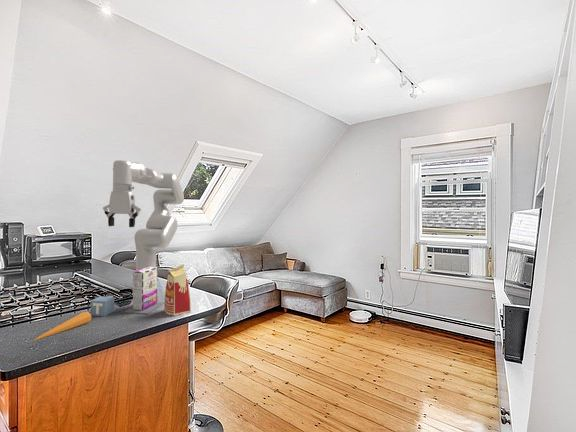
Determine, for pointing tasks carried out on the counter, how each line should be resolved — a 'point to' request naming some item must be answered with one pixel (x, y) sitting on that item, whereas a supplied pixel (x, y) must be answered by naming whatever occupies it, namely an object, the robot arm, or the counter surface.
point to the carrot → (69, 324)
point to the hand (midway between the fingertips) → (121, 226)
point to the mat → (145, 309)
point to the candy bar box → (144, 288)
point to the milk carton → (177, 292)
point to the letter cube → (102, 306)
